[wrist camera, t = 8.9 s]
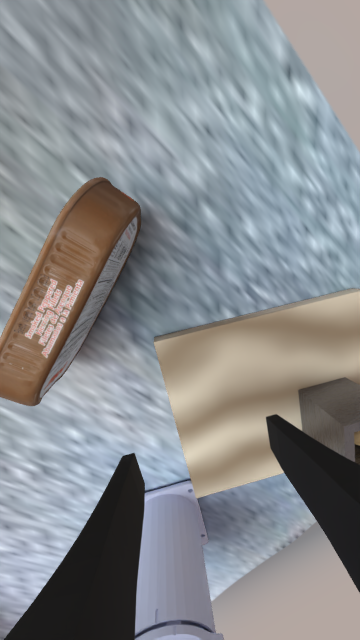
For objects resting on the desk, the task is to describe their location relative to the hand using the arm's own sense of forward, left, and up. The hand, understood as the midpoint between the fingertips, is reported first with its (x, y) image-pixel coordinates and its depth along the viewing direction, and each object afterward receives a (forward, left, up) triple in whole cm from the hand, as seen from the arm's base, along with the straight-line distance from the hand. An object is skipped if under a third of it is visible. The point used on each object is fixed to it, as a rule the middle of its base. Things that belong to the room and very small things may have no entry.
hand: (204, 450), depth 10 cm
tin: (+9, +6, -10) cm, 15 cm away
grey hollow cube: (-7, -13, -8) cm, 17 cm away
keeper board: (-5, -8, -9) cm, 13 cm away
